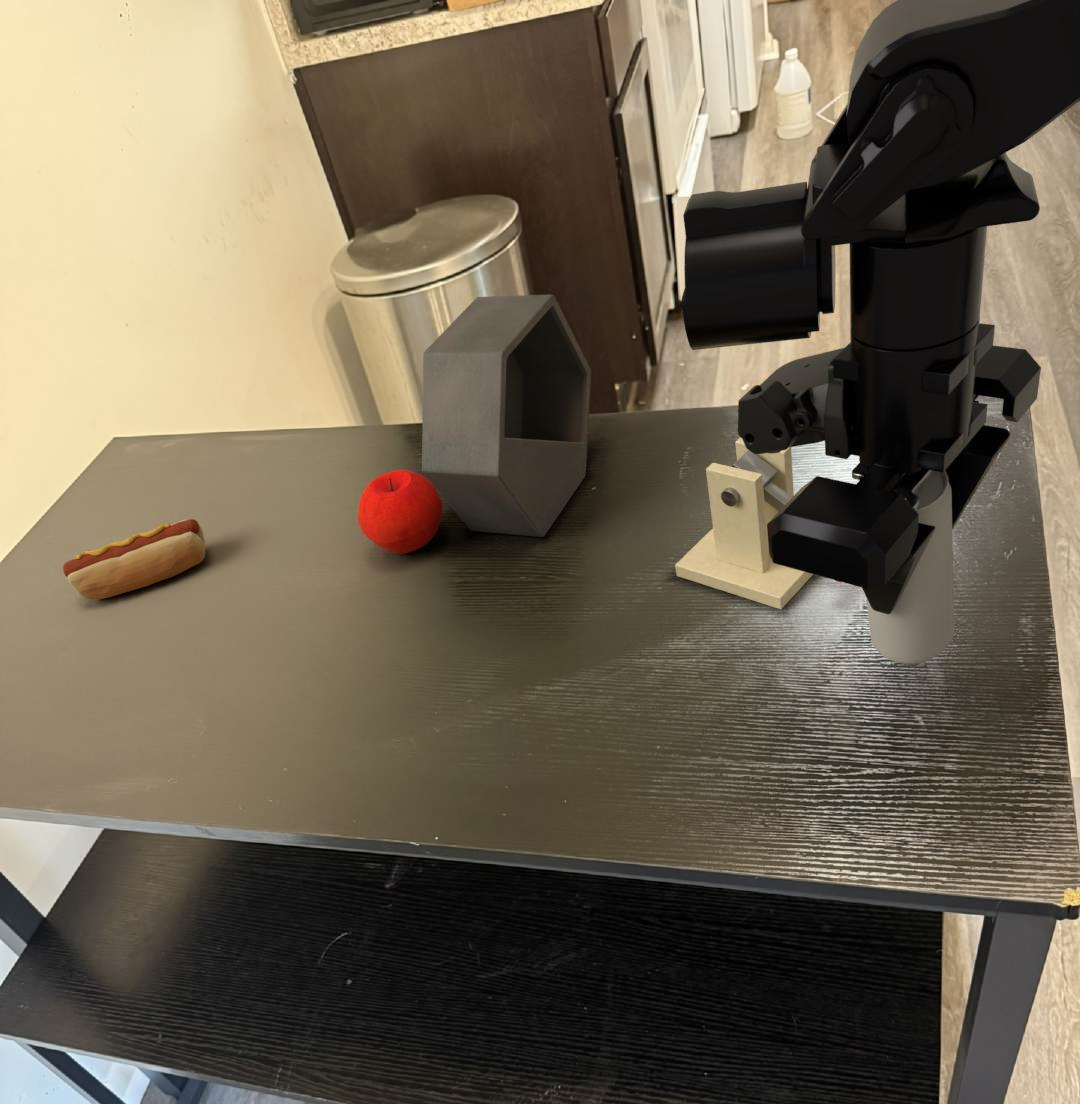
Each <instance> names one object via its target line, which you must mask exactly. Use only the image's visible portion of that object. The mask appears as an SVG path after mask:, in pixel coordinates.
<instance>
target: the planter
mask: <svg viewBox="0 0 1080 1104" xmlns="http://www.w3.org/2000/svg"><path fill="white" fill-rule="evenodd" d="M422 359H423V361H422V364H423V365H422V430H421V431H422V433H421V434H422V435H421V442H422V443H421V445H422V446H421V473H422V474H423V476H424V477H425V478H427V479H428V480H429V481H430V482H431V483H432V484H433V485H434V487H435V489H436V491H437V493H438V494H440V495H441V497H442V498H443V500H445V502H446V503H447V505H449V506H450V508H451V509H452V510H453V512H455V514H456V515H457V516H458V517H459V519H460V520H461V521H462V522H463V524H465V526H466V527H467V528H468V529H469V531H471V532H477V533H478V532H479V533H488V534H489V533H490V534H502V535H511V536H512V535H514V536H525V537H535V538H544V537H545V536H546V535H547V533H548V532H549V530H550V529H551V528H552V526H553V524H554V523H555V521H556V520H557V518H558V517H559V515H560V514H561V512H562V511H563V510H564V508H565V507H566V506H567V504H568V503H569V501H570V499H571V498H572V497H573V495H574V494H575V492H576V491H577V489H578V488H579V486H581V484H582V482H583V481H584V479H585V478H586V475H587V461H588V460H587V459H588V458H587V457H588V443H589V442H588V439H589V420H590V404H591V382H592V370H591V368H590V365H589V364H588V361H587V359H586V357H585V355H584V354H583V351H582V350H581V346H580V345H579V343H578V341H577V339H576V336H575V335H574V333H573V330H572V329H571V327H570V325H569V323H568V321H567V318H566V317H565V314H564V313H563V310H562V309H561V306H560V304H559V303H558V301H557V298H556V296H555V295H554V294H528V295H527V294H525V295H498V296H477V297H476V298H474V299H473V301H472V302H471V303H470V304H469V305H468V306H467V307H466V308H465V309H464V310H463V311H462V312H461V313H460V314H459V315H458V316H457V317H456V318H455V320H453V321H452V322H451V323H450V325H448V327H446V329H445V330H444V331H443V332H442V333H441V334H440V335H439V336H438V337H437V338H436V339H435V340H434V341H433V342H432V343H431V344H430V345H429V346H428V347H427V348H426V349H425V350H424V351H423V358H422Z"/></svg>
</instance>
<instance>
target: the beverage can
mask: <svg viewBox="0 0 1080 1104" xmlns="http://www.w3.org/2000/svg"><path fill="white" fill-rule="evenodd" d="M914 494H915V495H917V496H918V498H919V506H918V508H917V509H916V511H917V513H918V514H919V518H918V523H922V524H927V525H931V526H935V531H934V533H933V535H932V537H931V539H930V541H929V543H928V545H927V547H926V549H925V551H924V552H923V554H922V556H921V558H920V560H919V562H918V564H917V566H916V568H915V570H914V572H913V574H912V576H911V578H910V580H909V581H908V583H907V585H906V587H905V589H904V591H903V593H902V595H901V597H900V599H899V601H898V602H897V604H896V606H895V608H894V610H893V611H892V612H891V614H885V613H881V612H878V611H875V610H873V609H872V608H871V606H870V604H869V602H868V599H867V597H866V596H865V597H866V607H867V615H868V624H869V625H868V627H869V634H870V639H871V642H872V645H873V647H874V648H875V650H876V651H877V653H878V654H880V655H881V656H882V657H883V658H885V659H887V660H889V661H892V662H894V663H897V664H903V665H917V664H921V663H922V664H923V663H926V662H928V661H930V660H932V659H934V658H936V657H937V656H938V655H939V654H941V653H942V652H943V651H944V650H945V649H947V648H948V646H949V645H950V644H951V642H952V640H953V638H954V636H955V595H954V594H955V592H954V550H953V549H954V547H953V544H954V541H953V540H954V539H953V529H952V491H951V486H950V484H949V482H948V476H947V473H946V471H944V472H937V471H933V472H932V473H931V474H930V475H929V476H928V478H927V479H926V480H925V481H924V482H923V483H922V485H921V486H920V487H919V488H918V489H917V491H916V492H915V493H914Z"/></svg>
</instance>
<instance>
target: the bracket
mask: <svg viewBox="0 0 1080 1104" xmlns="http://www.w3.org/2000/svg"><path fill="white" fill-rule="evenodd" d="M734 444H735V454H736V461H737V460H738V459H740V458H741V457H742V456H743V455H744V454H745V453H746V452H747V451H748V449H747V448H746V446H745V444H744V442H743V439H742V438H741V437H740V436H739V438H738V439H737V440H736V441H735V442H734ZM756 455H757V456H758V457H760V458H761V459H762V460H764V461H765V462H766V463H768V464H769V465H770V466H772V467H773V468H774V469H776V470H777V473H776V475H775V477H774V478H773V480H772V482H773V483H774V484H775V485H777V486H778V487H779V488H781V489H782V490H783V491H785V492H786V493H787V494H789V495H790V496H791V497H793V496H794V495H795V493H794V476H793V474H794V473H793V456H792V455H793V454H792V447H789V448H788V449H786V450H782V451H780V452H779V453H772V454H770V453H764V454H756ZM705 473H706V481H707V482H706V483H707V490H708V497H709V499H708V500H709V505H710V506H709V507H710V514H711V523H712V528H711V529H710V530H709V531H708V532H707V533H706V534H705V535H704V536H703V537H702V538H701V539H700V540H699V541H698V542H697V543H696V544H695V545H693V547H692V548H691V549H690V550H689V551H688V552H687V553H685V554H684V555H683V556H682V557H681V558H680V559H679V561H677V562H676V563H675V564H674V568H675V574H676V577H678V578H682V579H685V580H688V581H692V582H694V583H698V584H701V585H704V586H707V587H710V588H713V589H715V590H719V591H721V592H725V593H728V594H732V595H733V596H734V595H735V596H738V597H740V598H744V599H747V600H750V601H754V602H757V603H759V604H763V605H766V606H769V607H772V608H775V609H778V610H782V609H783V608H784V607H785V606H786V605H787V604H788V603H789V602H790V601H791V600H792V599H793V597H794V596H795V595H796V594H797V593H798V592H799V591H800V590H801V589H802V587H804V586H805V584H807V582H808V581H809V580H811V578H812V576H814V574H811V573H807V572H804V571H800V570H796V569H793V568H789V567H785V566H782V565H778V564H775V563H773V561H772V559H771V557H770V555H769V544H768V531H767V524H768V523H769V522H770V521H771V519H772V518H773V517H774V516H775V515H776V514H777V513H778V512H779V511H777V510H776V509H775V508H773V507H772V506H771V505H769V504H768V503H767V502H765V501H764V489H763V476H762V474H760V473H755V472H751V471H747V470H743V469H738V468H734V467H732V466H729V465H726V464H720V463H717V462H712V463H711V464H709V465H708V466H707V467H706V468H705Z"/></svg>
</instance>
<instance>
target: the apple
mask: <svg viewBox="0 0 1080 1104" xmlns="http://www.w3.org/2000/svg"><path fill="white" fill-rule="evenodd" d="M442 517H443V500H442V498H441V496H440V495H439V492H438V490H437V489H436V488H435V487H434V485H433V484H432V483H431V482H430V481H429V479H428V478H427V477H426V476H425V475H424V474H423V475H422V474H420V473H417V472H415V471H412V470H409V469H396V470H392V471H390V472H387V473H383V474H380V475H378V476H376V477H375V478H374V479H372V480H370V482H369V483H368V484H367V485H366V487H365V488H364V490H363V492H362V494H361V497H360V499H359V502H358V514H357V522H358V526H359V528H360V530H361V532H362V534H364V535H365V536H366V538H367V539H368V540H370V541H371V542H373V543H374V544H375V545H377V546H378V547H379V548H381V549H384V550H385V551H387V552H389V553H393V554H398V555H404V554H409V553H411V552H415V551H417V550H419V549H421V548H423V547H425V546H427V545H428V544H429V543H430V542H431V541H432V540H433V538H434V537H435V535H436V534H437V531H438V529H439V528H440V524H441V521H442Z"/></svg>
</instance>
